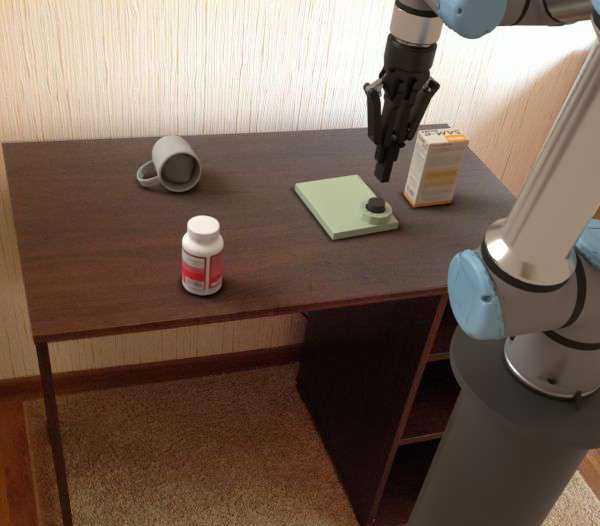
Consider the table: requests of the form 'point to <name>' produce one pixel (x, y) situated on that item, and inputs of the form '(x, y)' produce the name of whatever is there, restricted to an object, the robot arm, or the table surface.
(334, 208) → the scale
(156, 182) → the ceramic mug
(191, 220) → the pill bottle
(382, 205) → the button
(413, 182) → the supplement box
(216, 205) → the table surface
